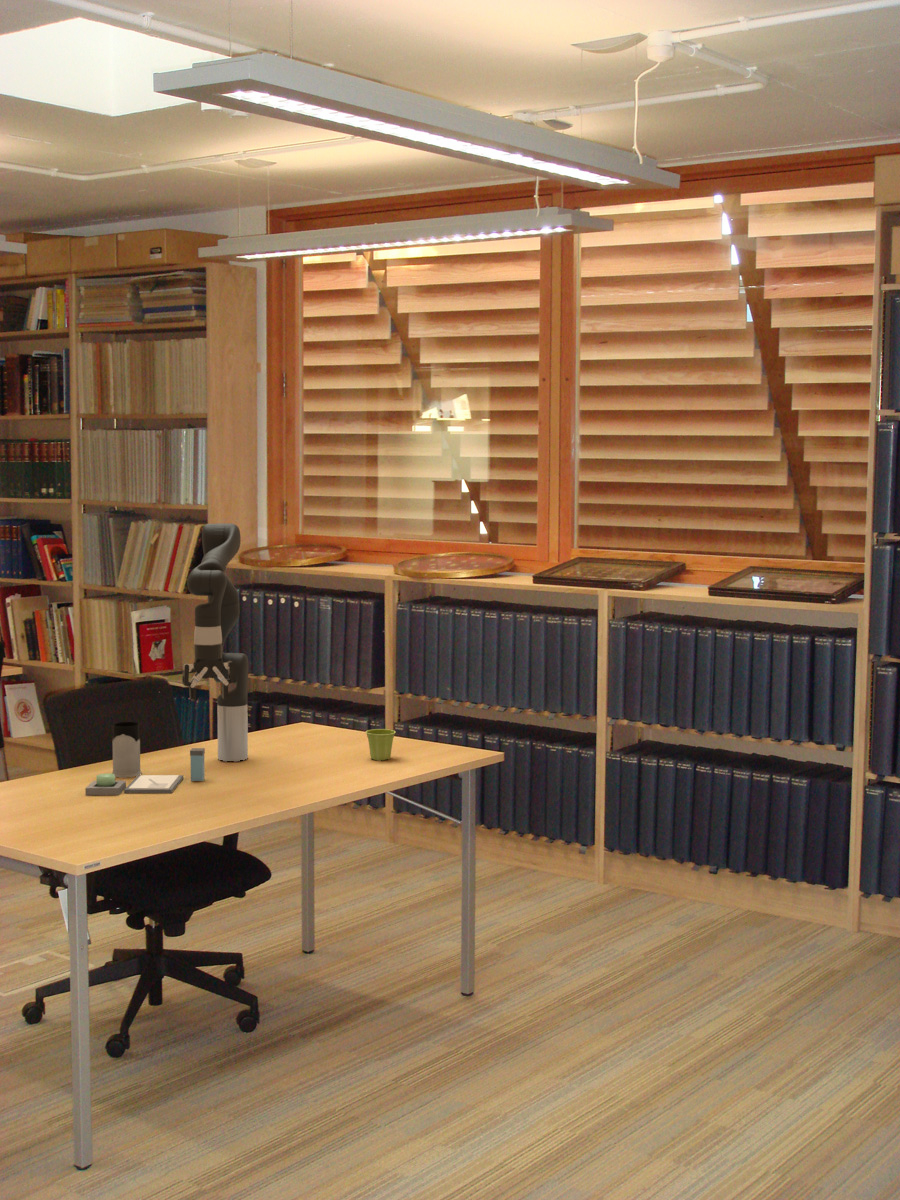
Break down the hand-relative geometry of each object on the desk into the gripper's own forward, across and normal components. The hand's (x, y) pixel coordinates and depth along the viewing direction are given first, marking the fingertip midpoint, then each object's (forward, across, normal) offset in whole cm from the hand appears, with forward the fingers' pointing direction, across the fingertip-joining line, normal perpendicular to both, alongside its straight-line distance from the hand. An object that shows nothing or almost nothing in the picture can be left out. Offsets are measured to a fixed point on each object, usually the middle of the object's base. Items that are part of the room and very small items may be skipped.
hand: (208, 699), depth 358 cm
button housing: (+25, +27, -8) cm, 38 cm away
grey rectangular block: (+26, +1, -12) cm, 28 cm away
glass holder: (+26, +17, -30) cm, 43 cm away
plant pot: (+27, -59, -20) cm, 68 cm away
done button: (+23, +27, -8) cm, 37 cm away
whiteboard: (+26, +14, -10) cm, 31 cm away
